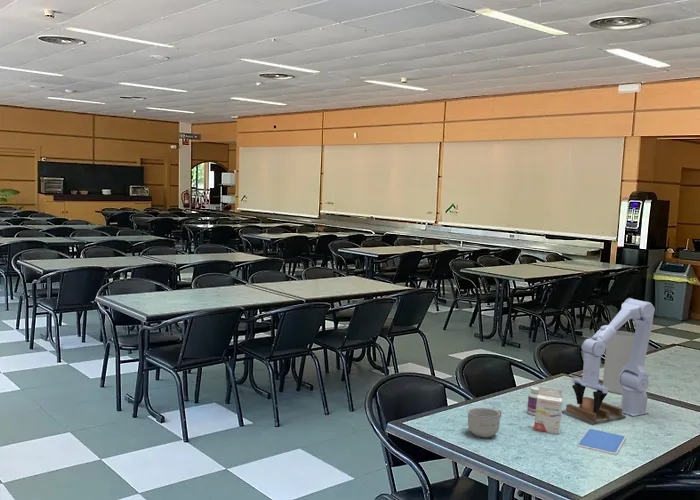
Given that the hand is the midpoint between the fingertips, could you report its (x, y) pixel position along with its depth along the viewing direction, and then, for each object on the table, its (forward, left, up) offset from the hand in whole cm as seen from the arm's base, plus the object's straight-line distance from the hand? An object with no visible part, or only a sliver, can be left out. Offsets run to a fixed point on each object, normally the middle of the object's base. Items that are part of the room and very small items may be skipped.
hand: (588, 406), depth 251 cm
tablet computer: (+17, +20, -5) cm, 27 cm away
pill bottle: (+16, -11, -4) cm, 20 cm away
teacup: (+49, -2, -4) cm, 50 cm away
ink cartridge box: (+26, +4, -4) cm, 27 cm away
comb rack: (-4, 0, -4) cm, 5 cm away
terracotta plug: (0, 0, -3) cm, 3 cm away
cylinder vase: (-44, -19, -4) cm, 48 cm away
